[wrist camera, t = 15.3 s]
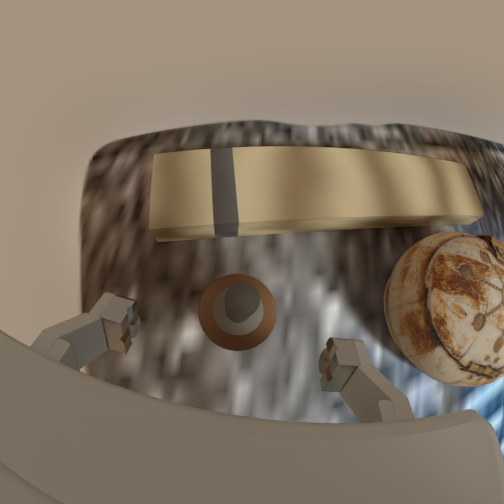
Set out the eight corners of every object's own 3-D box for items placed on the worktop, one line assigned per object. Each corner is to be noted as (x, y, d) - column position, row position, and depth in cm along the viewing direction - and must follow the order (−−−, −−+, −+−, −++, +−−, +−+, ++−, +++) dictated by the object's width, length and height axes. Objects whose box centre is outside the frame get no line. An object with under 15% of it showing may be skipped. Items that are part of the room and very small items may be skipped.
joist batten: (451, 175, 24) (464, 164, 22) (469, 224, 23) (484, 215, 20) (160, 172, 21) (153, 154, 19) (157, 242, 19) (148, 229, 17)
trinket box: (495, 354, 19) (551, 347, 11) (391, 421, 17) (456, 445, 9) (469, 234, 23) (520, 203, 15) (359, 260, 20) (417, 220, 13)
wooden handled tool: (253, 298, 19) (292, 238, 8) (258, 342, 18) (307, 350, 7) (209, 301, 18) (180, 246, 7) (213, 346, 18) (188, 362, 6)
